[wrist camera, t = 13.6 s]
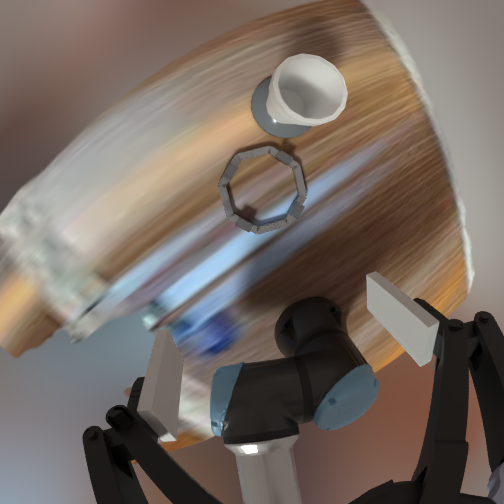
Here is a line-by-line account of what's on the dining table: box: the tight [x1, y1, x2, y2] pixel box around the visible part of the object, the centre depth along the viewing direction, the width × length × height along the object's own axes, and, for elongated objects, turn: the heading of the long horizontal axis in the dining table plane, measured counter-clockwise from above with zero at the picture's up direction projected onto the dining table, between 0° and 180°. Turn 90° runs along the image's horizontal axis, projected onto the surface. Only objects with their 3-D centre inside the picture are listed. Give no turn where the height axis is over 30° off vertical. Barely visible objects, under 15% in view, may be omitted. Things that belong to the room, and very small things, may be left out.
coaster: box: [251, 77, 311, 138], centre depth 39 cm, size 11×11×1 cm
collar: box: [218, 146, 307, 234], centre depth 43 cm, size 14×14×2 cm
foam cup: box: [266, 53, 348, 126], centre depth 33 cm, size 10×9×13 cm
